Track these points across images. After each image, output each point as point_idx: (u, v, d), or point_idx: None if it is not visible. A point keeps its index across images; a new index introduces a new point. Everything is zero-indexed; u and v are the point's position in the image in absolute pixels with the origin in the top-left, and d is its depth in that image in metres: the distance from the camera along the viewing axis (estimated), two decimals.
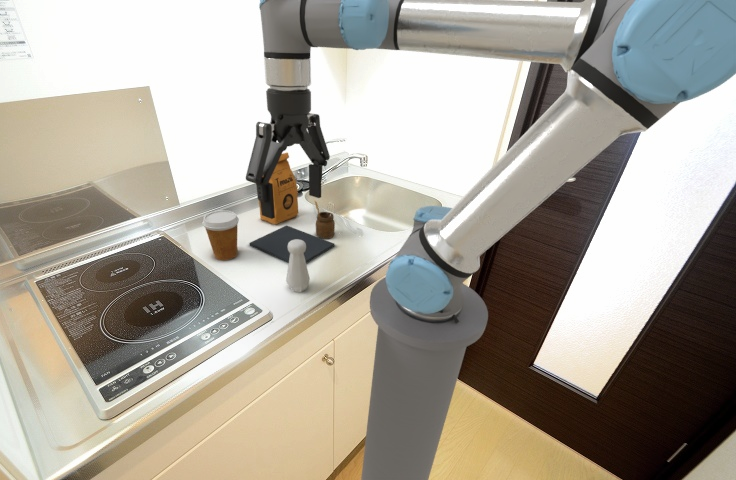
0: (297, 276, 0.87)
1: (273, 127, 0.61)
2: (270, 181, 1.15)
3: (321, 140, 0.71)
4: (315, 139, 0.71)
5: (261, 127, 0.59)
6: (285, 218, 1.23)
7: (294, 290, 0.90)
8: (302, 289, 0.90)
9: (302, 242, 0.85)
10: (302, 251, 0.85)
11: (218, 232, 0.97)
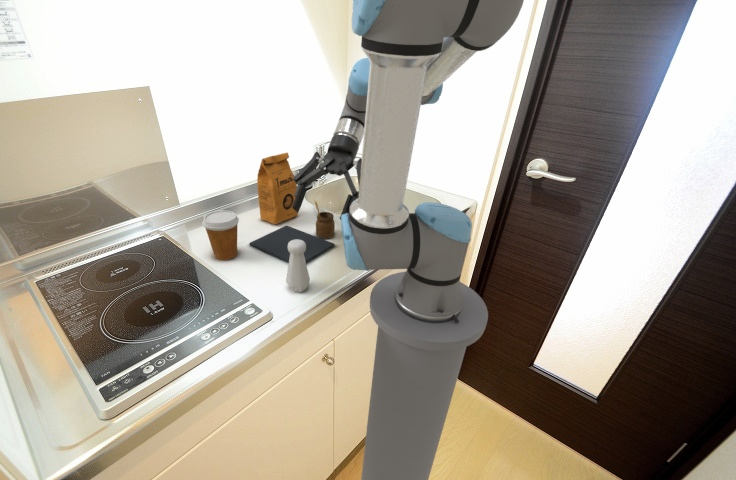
0: (297, 276, 0.87)
1: (322, 157, 0.96)
2: (270, 181, 1.15)
3: (359, 177, 0.90)
4: None
5: None
6: (285, 218, 1.23)
7: (294, 290, 0.90)
8: (302, 289, 0.90)
9: (302, 242, 0.85)
10: (302, 251, 0.85)
11: (218, 232, 0.97)
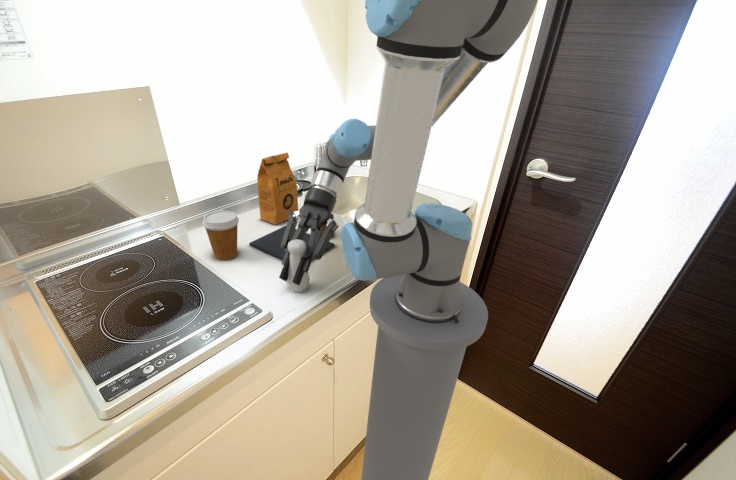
0: None
1: (298, 212, 0.91)
2: (270, 181, 1.15)
3: (322, 238, 0.86)
4: None
5: None
6: (285, 218, 1.23)
7: (294, 290, 0.90)
8: (302, 289, 0.90)
9: (302, 242, 0.85)
10: (302, 251, 0.85)
11: (218, 232, 0.97)
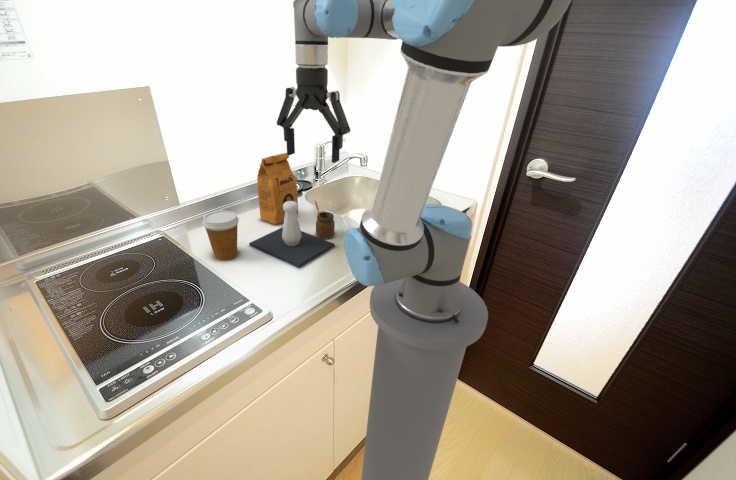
0: (291, 231, 1.05)
1: (295, 92, 0.90)
2: (270, 181, 1.15)
3: (337, 114, 0.87)
4: None
5: None
6: None
7: (288, 244, 1.08)
8: (295, 243, 1.08)
9: (295, 202, 1.03)
10: (295, 210, 1.03)
11: (218, 232, 0.97)
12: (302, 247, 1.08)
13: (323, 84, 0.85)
